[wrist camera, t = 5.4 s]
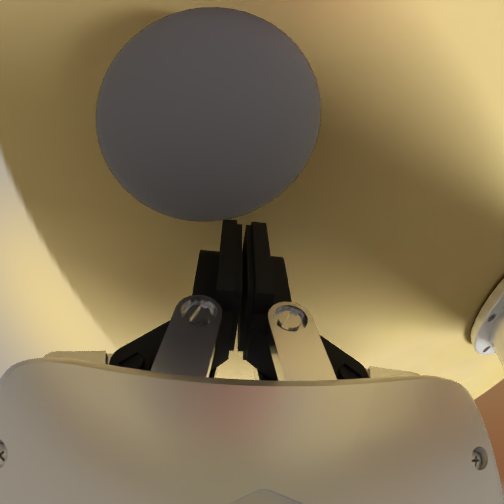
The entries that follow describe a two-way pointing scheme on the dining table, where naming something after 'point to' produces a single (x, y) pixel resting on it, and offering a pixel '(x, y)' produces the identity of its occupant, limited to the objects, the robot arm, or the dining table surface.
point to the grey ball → (208, 114)
